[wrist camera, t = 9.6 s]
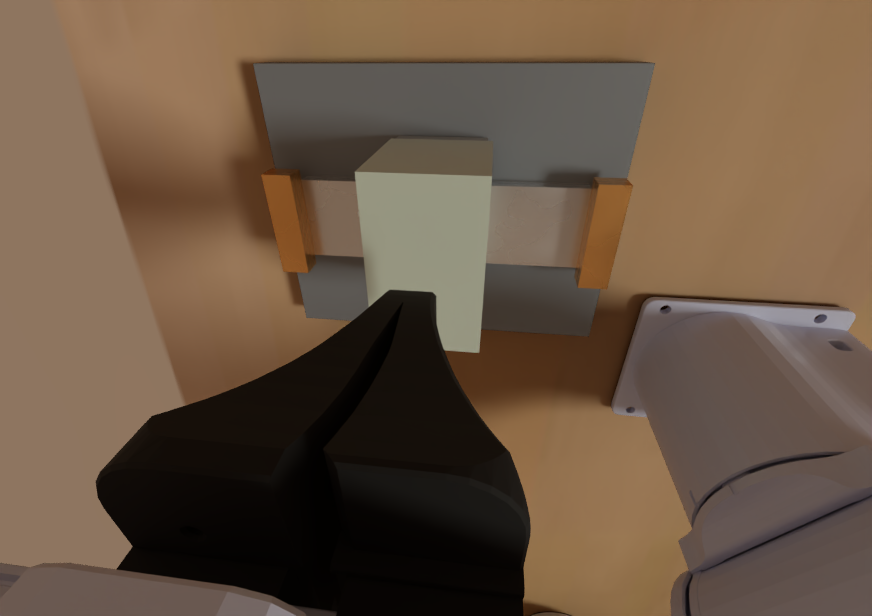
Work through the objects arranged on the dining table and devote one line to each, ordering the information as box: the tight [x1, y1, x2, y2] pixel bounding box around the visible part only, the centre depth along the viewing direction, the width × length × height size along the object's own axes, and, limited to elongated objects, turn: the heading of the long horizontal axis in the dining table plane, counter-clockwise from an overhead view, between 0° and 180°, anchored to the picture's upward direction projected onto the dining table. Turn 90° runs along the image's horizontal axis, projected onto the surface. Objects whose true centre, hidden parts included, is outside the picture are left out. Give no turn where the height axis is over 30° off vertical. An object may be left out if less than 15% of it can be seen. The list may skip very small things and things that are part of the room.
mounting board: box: [253, 62, 655, 337], centre depth 19 cm, size 15×12×1 cm
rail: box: [261, 168, 633, 289], centre depth 18 cm, size 14×4×2 cm, turn 91°
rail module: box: [355, 136, 493, 353], centre depth 16 cm, size 4×6×6 cm, turn 1°
